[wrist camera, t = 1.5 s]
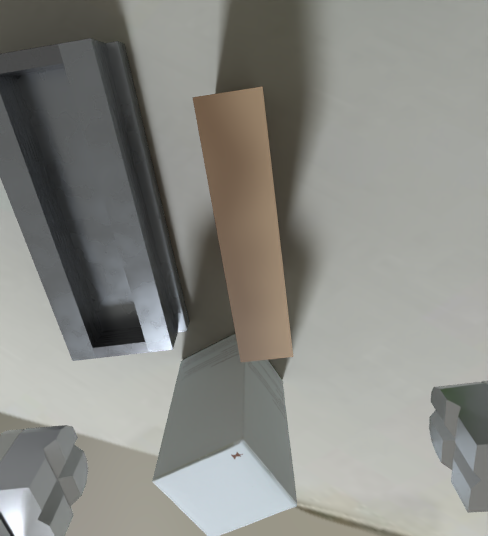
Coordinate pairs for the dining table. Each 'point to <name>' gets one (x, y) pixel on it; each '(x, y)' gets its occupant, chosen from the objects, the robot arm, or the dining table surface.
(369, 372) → the dining table surface
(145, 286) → the tray
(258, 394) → the supplement box
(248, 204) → the door panel
